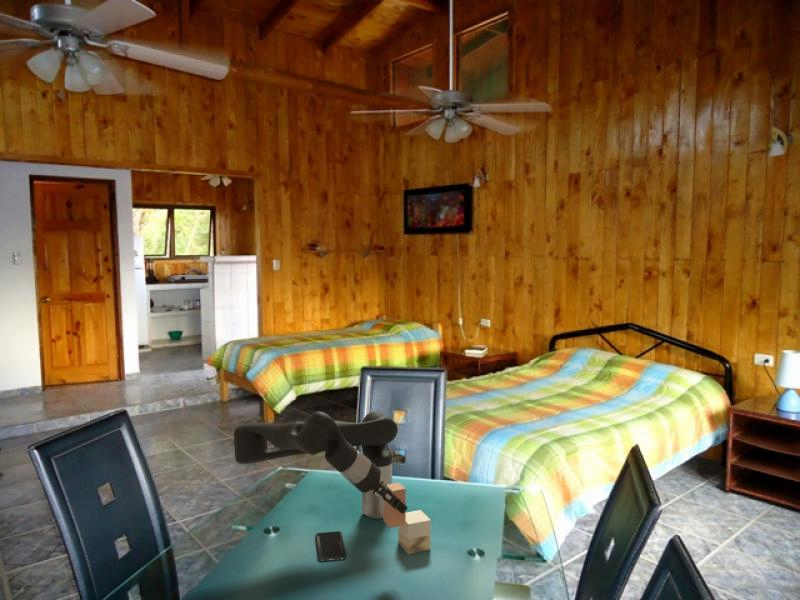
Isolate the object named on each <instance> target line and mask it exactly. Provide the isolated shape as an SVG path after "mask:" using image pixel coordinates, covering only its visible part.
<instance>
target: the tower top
mask: <svg viewBox="0 0 800 600" xmlns="http://www.w3.org/2000/svg"><path fill="white" fill-rule="evenodd" d="M431 523H432V520H431V519H430V517H428V516H427V515H426V514H425V513H424V512H423V511H422V509H418V510H414V511H413V510H412V511H409V512H408V511H406V519H405V525H402V526H398V529H400V530H401V532H402V533H403V534H404V535H405V536H406V537H407V538H408V539H413V538H418V537H423V536H428V535H430V536H431V534H432V531H431V528H432V527H431V526H432V525H431Z"/></svg>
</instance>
